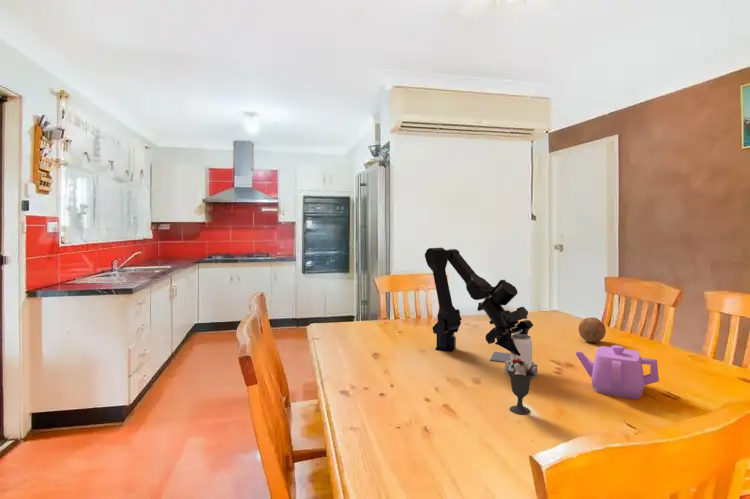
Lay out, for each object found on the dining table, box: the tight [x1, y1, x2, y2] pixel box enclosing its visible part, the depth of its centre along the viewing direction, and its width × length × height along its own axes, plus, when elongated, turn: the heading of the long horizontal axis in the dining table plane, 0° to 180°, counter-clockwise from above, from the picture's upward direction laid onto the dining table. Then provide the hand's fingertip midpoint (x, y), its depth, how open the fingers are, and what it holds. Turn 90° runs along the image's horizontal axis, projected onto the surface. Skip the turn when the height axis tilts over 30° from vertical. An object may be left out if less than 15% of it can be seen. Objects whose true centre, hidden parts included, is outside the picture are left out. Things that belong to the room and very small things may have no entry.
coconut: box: [578, 317, 607, 343], centre depth 167 cm, size 10×10×10 cm
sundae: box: [507, 352, 534, 416], centre depth 105 cm, size 7×7×15 cm
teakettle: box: [575, 344, 660, 400], centre depth 119 cm, size 17×17×12 cm
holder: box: [504, 360, 538, 380], centre depth 132 cm, size 10×10×3 cm
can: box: [509, 333, 533, 368], centre depth 131 cm, size 6×6×12 cm
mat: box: [489, 351, 510, 363], centre depth 147 cm, size 10×10×1 cm
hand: (525, 353), depth 130 cm, fingers closed on can, 6 cm apart
